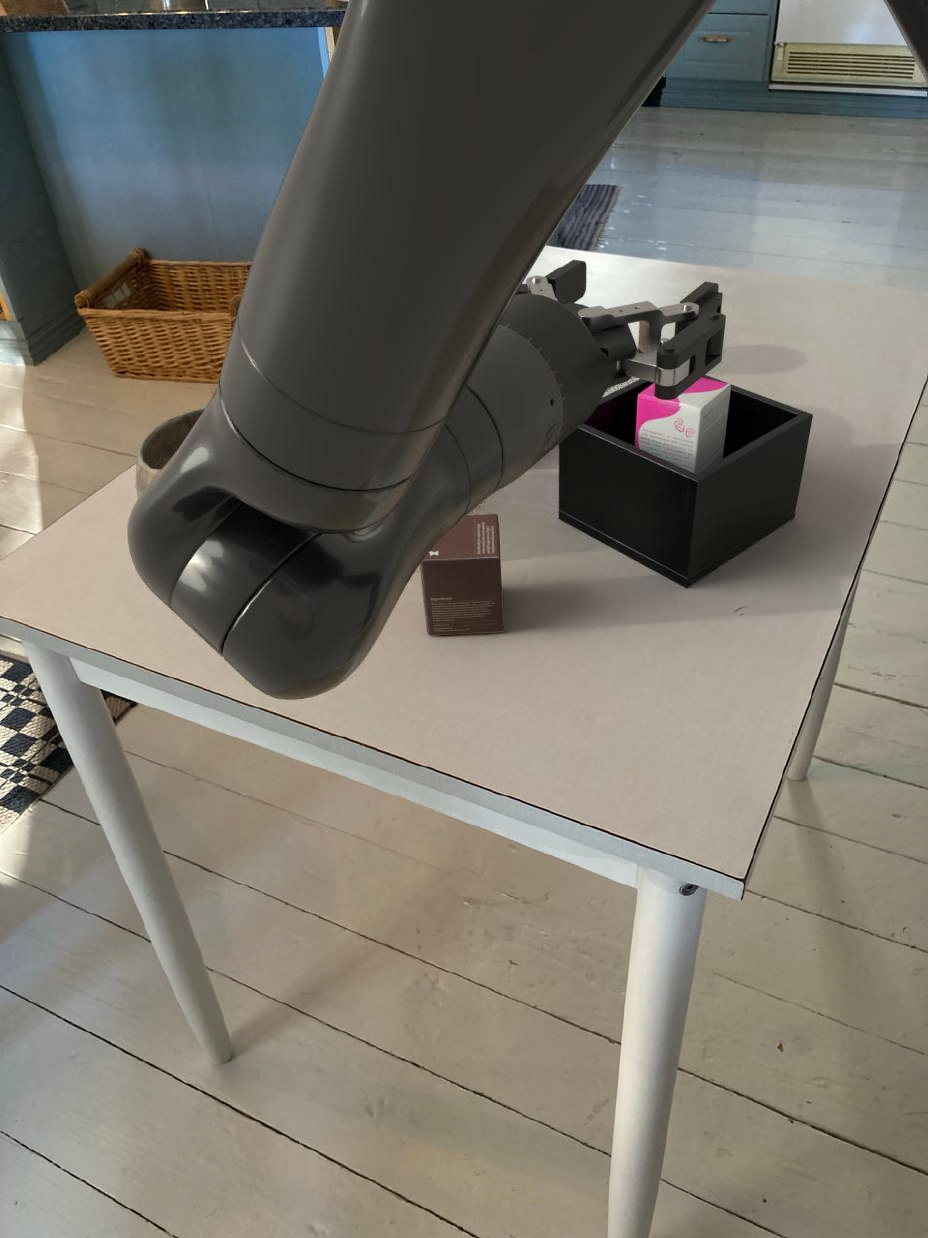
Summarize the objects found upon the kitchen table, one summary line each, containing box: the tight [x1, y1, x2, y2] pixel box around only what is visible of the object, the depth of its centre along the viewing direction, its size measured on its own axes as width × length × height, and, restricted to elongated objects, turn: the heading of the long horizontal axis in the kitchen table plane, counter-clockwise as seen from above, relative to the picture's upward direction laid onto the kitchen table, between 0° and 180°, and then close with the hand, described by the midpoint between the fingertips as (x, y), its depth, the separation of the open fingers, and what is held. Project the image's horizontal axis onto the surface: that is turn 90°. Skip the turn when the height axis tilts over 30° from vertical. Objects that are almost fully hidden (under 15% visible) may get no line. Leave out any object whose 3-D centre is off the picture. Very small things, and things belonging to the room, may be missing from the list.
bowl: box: [134, 407, 206, 499], centre depth 87 cm, size 14×15×10 cm
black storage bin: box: [558, 374, 814, 589], centre depth 85 cm, size 15×15×10 cm
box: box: [419, 513, 504, 636], centre depth 77 cm, size 6×6×7 cm
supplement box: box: [635, 378, 731, 474], centre depth 84 cm, size 6×6×12 cm
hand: (644, 286), depth 59 cm, fingers open, 8 cm apart
